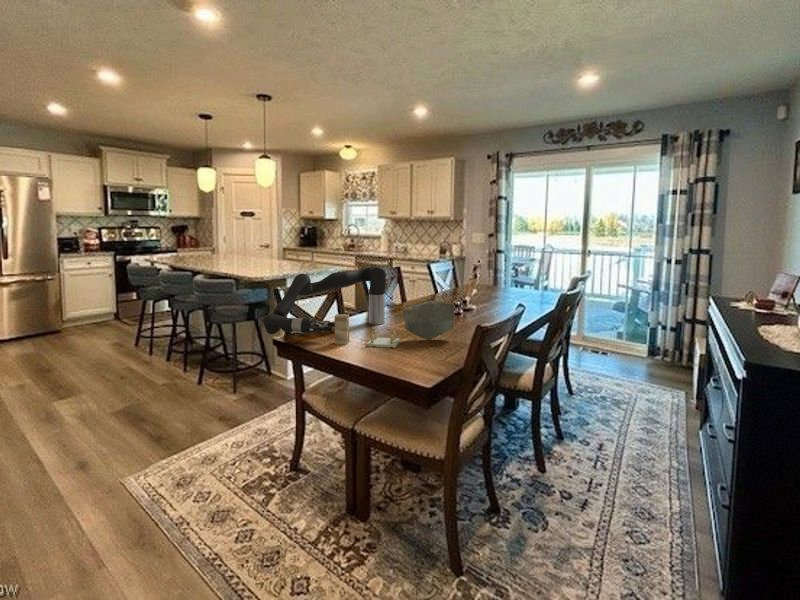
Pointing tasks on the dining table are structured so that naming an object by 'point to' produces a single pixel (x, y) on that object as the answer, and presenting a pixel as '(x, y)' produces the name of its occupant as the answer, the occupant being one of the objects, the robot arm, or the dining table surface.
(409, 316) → the rock
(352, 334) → the dining table surface
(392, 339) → the peg board
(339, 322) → the tan wooden block
